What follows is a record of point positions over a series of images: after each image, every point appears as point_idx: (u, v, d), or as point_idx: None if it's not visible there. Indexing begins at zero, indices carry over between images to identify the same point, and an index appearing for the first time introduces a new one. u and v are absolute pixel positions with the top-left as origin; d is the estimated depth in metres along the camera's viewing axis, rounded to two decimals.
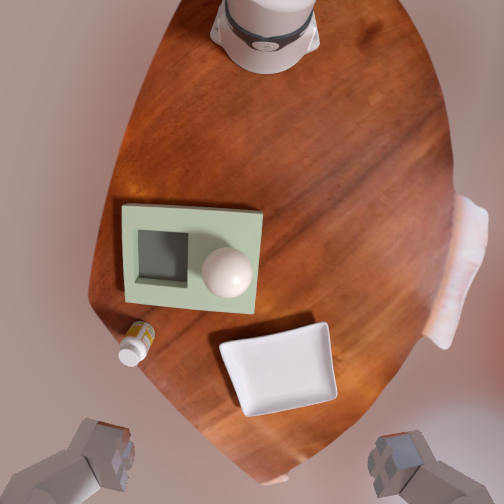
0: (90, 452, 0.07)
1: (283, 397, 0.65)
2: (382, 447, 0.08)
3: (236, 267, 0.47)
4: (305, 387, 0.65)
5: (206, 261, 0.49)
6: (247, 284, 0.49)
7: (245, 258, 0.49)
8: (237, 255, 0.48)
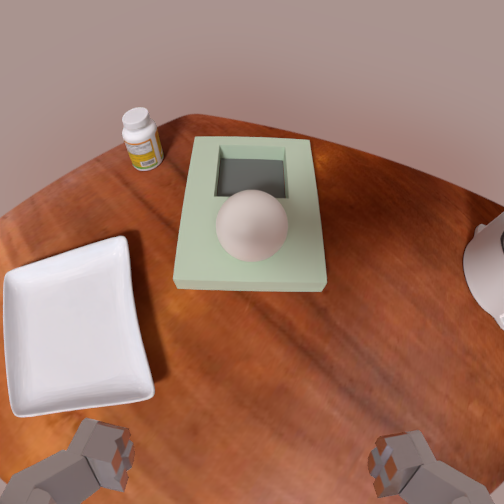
0: (90, 452, 0.07)
1: (23, 333, 0.34)
2: (382, 447, 0.08)
3: (273, 222, 0.32)
4: (34, 368, 0.32)
5: None
6: (243, 242, 0.32)
7: (278, 244, 0.34)
8: (284, 232, 0.34)
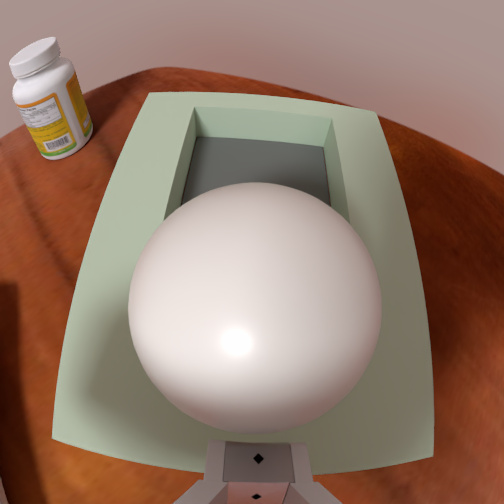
0: (231, 476, 0.07)
1: None
2: None
3: (348, 283, 0.07)
4: None
5: None
6: (212, 375, 0.06)
7: (359, 375, 0.08)
8: (379, 327, 0.08)
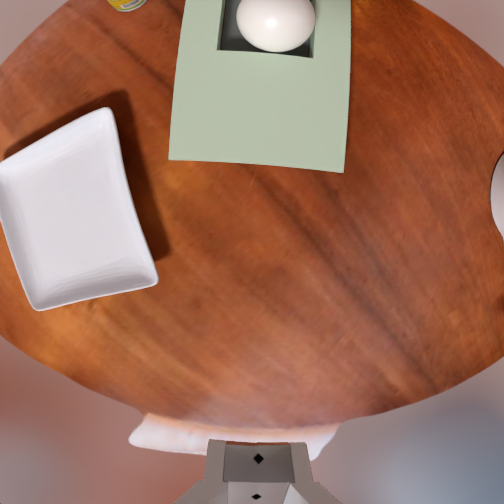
0: (231, 476, 0.07)
1: (23, 225, 0.35)
2: None
3: None
4: (42, 259, 0.36)
5: None
6: None
7: None
8: None
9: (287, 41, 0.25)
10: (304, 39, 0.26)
